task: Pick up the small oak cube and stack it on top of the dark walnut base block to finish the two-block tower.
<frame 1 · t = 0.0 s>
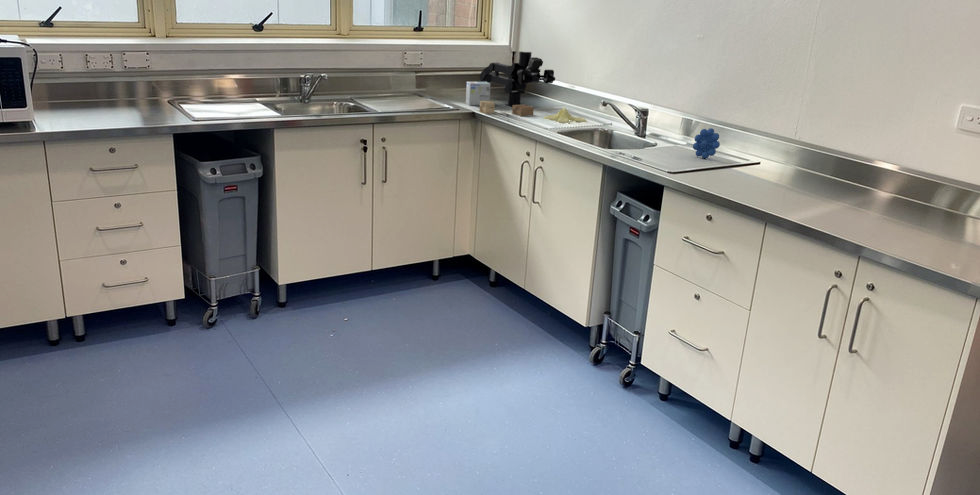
hand: (547, 79, 379), 17 cm above the counter, tool horizontal, fingers open, 9 cm apart
cloth: (562, 121, 377), on the counter
walnut base block: (522, 114, 382), on the counter
light bulb box: (477, 104, 402), on the counter
oak cube: (486, 112, 381), on the counter
blue flower shape: (705, 159, 314), on the counter
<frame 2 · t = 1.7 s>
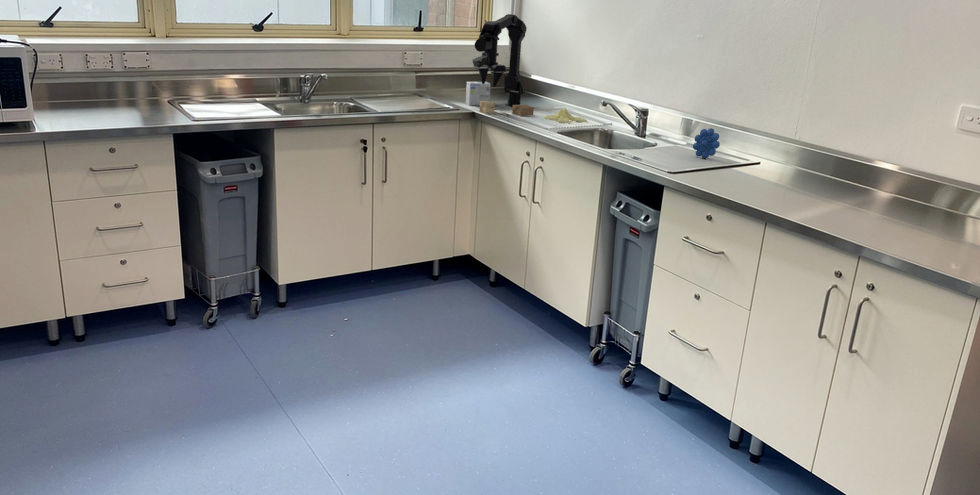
hand: (488, 85, 377), 13 cm above the counter, tool pointing down, fingers open, 9 cm apart
nothing on the counter moved.
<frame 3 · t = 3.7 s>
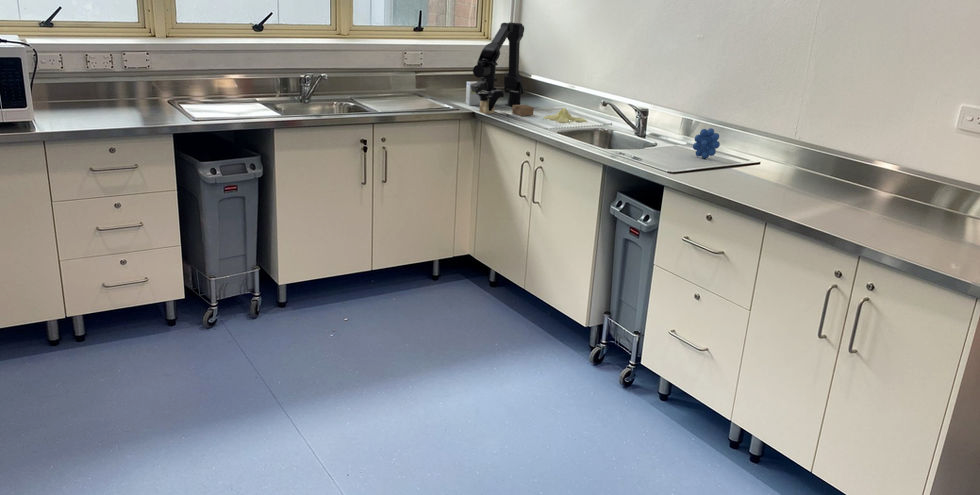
hand: (486, 109, 381), 1 cm above the counter, tool pointing down, fingers closed on oak cube, 5 cm apart
oak cube: (486, 112, 381), on the counter, touching gripper
everything else where it was.
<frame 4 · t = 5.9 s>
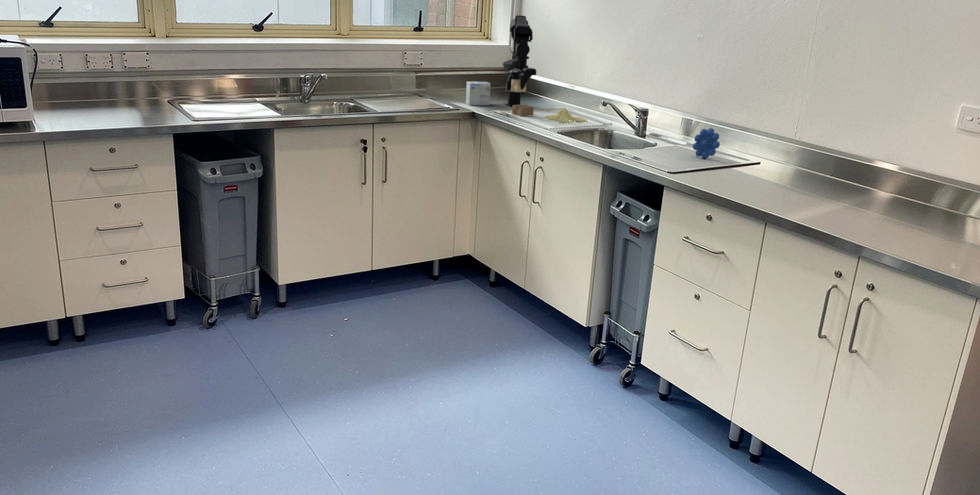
hand: (518, 88, 378), 12 cm above the counter, tool pointing down, fingers closed on oak cube, 5 cm apart
oak cube: (518, 91, 378), point 11 cm above the counter, touching gripper
everything else where it was.
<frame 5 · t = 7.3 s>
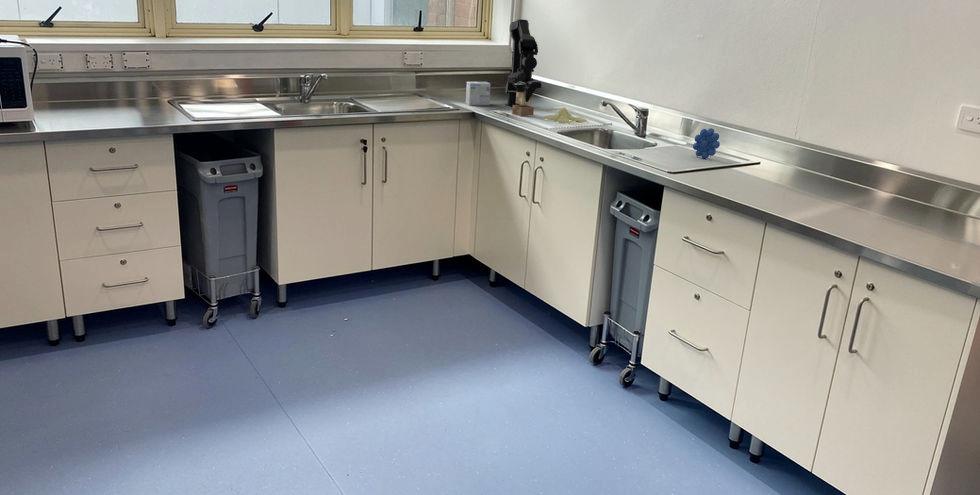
hand: (523, 101, 380), 6 cm above the counter, tool pointing down, fingers closed on oak cube, 5 cm apart
oak cube: (523, 103, 380), point 5 cm above the counter, touching gripper
everything else where it was.
when the fingers open (6 cm above the counter, at t = 8.0 s): oak cube drops 1 cm, resting on walnut base block.
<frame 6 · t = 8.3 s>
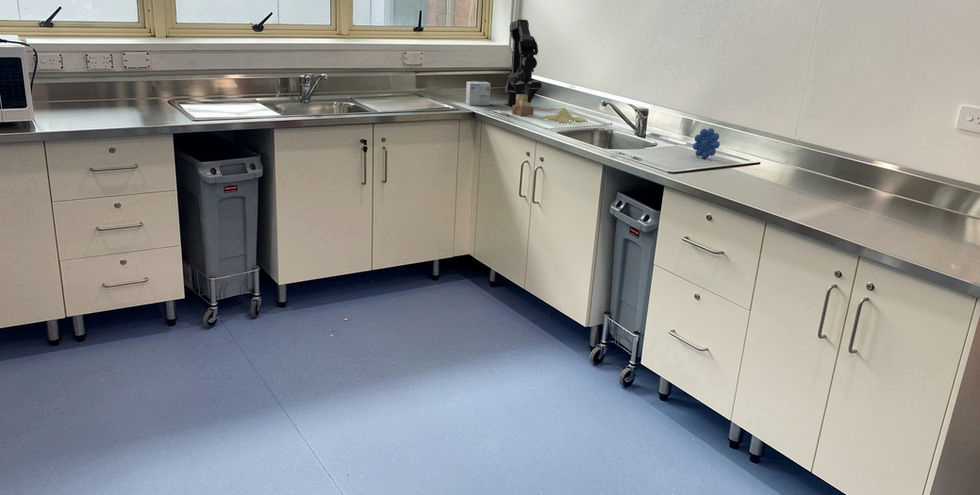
hand: (523, 101, 380), 6 cm above the counter, tool pointing down, fingers open, 9 cm apart
oak cube: (523, 106, 380), point 4 cm above the counter, touching walnut base block
everything else where it was.
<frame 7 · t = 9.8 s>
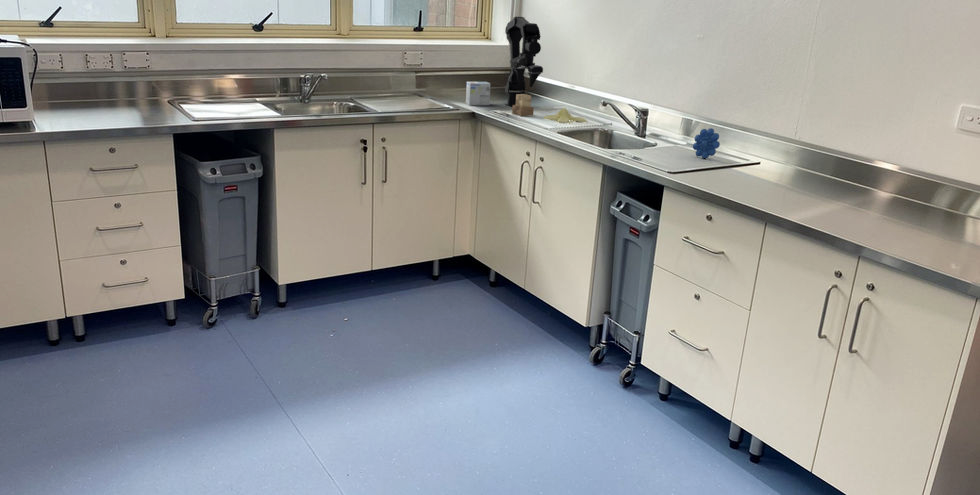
hand: (525, 85, 385), 13 cm above the counter, tool pointing down, fingers open, 9 cm apart
nothing on the counter moved.
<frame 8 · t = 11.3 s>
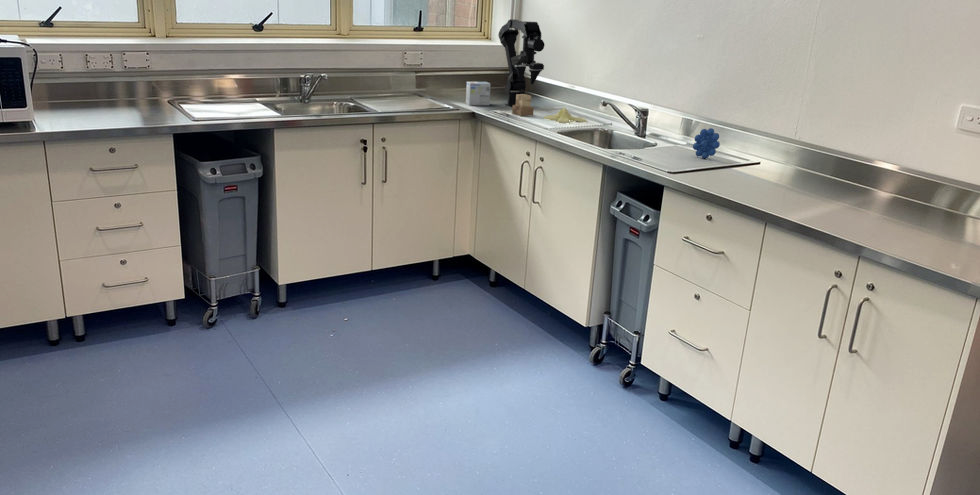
hand: (526, 82, 389), 13 cm above the counter, tool pointing down, fingers open, 9 cm apart
nothing on the counter moved.
at the end: oak cube 0.0 cm off-centre on the walnut base block, point 4.0 cm above the walnut base block's base; oak cube tilted 0°; the gripper is holding nothing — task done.
